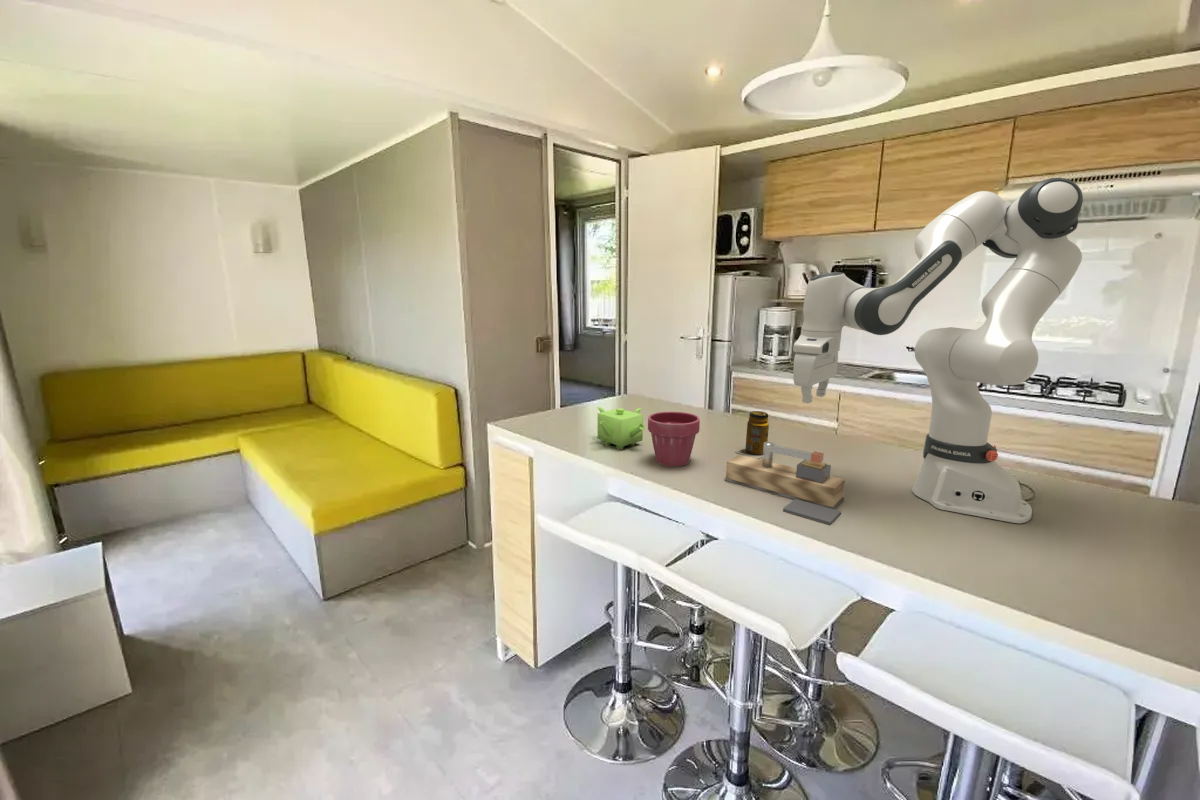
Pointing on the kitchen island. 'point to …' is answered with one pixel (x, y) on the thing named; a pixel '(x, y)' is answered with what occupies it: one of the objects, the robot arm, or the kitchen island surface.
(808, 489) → the plane body
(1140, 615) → the kitchen island surface
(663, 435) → the plant pot
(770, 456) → the latch lever
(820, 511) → the mat
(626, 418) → the kettle
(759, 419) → the condiment
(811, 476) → the grey and tan block
